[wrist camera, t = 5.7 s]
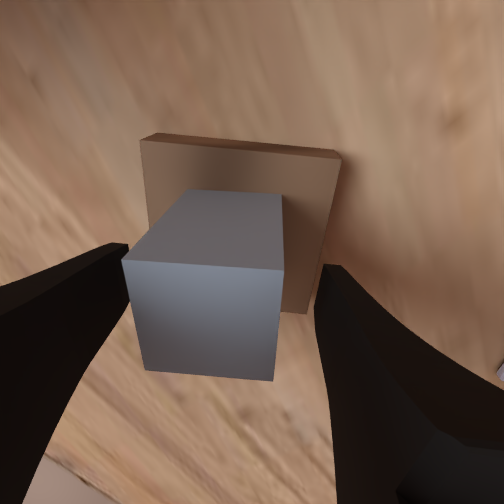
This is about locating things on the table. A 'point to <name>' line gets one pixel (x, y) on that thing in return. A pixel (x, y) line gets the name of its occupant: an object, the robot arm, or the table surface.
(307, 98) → the table surface
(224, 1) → the table surface
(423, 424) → the robot arm
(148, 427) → the table surface
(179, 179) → the walnut slab
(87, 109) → the table surface
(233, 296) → the blue block
